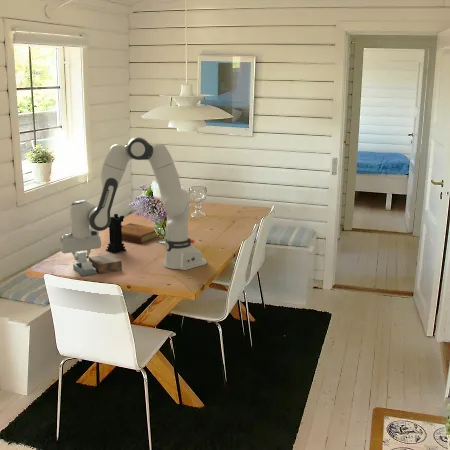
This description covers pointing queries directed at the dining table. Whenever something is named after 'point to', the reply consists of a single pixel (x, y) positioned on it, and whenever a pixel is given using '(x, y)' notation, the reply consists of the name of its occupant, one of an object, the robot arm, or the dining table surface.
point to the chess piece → (115, 235)
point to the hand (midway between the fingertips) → (81, 258)
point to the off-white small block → (86, 266)
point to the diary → (138, 233)
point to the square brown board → (106, 263)
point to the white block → (81, 256)
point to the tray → (79, 269)
